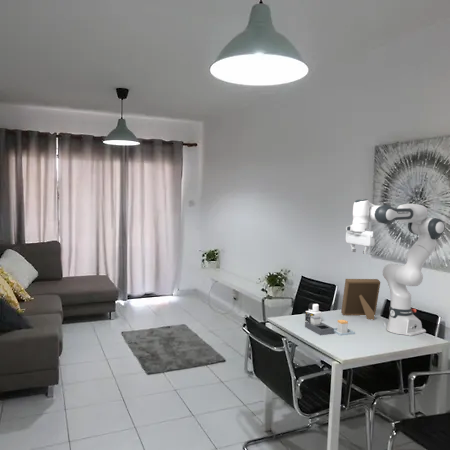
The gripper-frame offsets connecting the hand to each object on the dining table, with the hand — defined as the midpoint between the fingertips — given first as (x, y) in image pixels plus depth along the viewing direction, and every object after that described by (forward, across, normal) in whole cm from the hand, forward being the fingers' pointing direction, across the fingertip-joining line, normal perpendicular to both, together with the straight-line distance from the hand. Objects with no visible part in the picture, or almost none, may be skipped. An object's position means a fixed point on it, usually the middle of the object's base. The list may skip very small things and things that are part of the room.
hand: (359, 253), depth 234 cm
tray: (+47, +6, +5) cm, 48 cm away
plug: (+47, +6, +5) cm, 47 cm away
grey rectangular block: (+46, +17, +16) cm, 52 cm away
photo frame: (+47, +31, -30) cm, 64 cm away
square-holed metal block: (+47, +13, +16) cm, 52 cm away
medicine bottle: (+47, +30, +8) cm, 57 cm away
